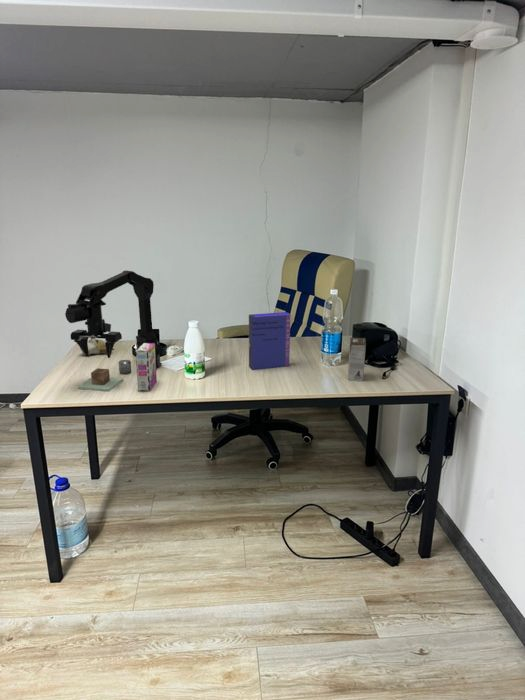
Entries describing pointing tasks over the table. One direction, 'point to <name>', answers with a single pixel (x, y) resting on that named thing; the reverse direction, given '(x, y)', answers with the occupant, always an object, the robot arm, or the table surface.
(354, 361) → the coffee box
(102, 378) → the walnut block
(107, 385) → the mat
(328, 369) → the table surface
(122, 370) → the metal cylinder
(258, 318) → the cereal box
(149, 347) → the candy bar box
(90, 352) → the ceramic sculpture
